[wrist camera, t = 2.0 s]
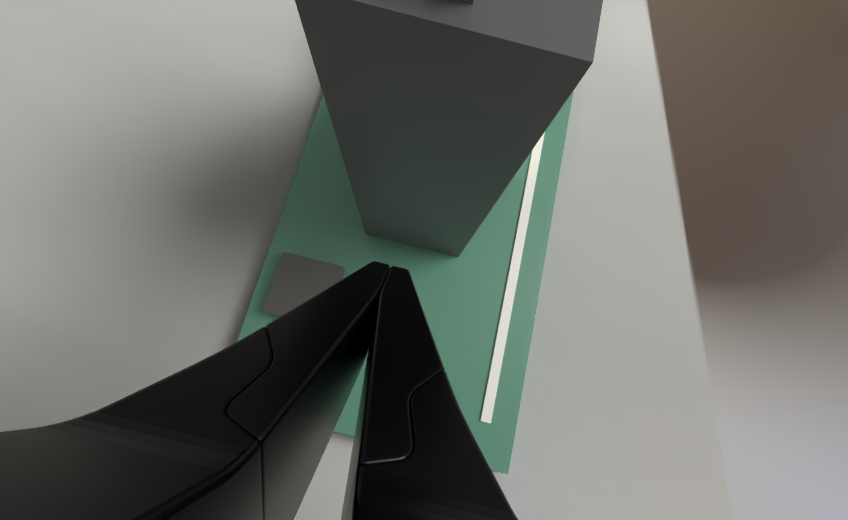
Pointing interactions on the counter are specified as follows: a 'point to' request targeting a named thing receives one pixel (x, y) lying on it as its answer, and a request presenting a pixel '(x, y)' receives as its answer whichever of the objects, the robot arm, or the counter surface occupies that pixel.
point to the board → (427, 277)
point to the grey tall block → (443, 101)
